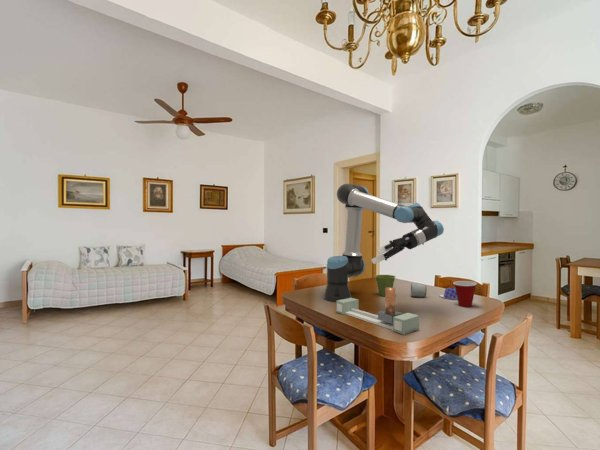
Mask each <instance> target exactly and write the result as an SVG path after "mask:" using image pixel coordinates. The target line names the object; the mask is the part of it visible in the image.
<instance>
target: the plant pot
mask: <svg viewBox="0 0 600 450" xmlns="http://www.w3.org/2000/svg"><path fill="white" fill-rule="evenodd" d="M374 277H375V280H376V284H377V290H378V295H379V296H381V297H385V288H387V287H391V288H394V282H395V279H396V276H395V275H392V274H376V275H374Z"/></svg>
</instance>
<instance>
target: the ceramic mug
mask: <svg viewBox="0 0 600 450" xmlns="http://www.w3.org/2000/svg"><path fill="white" fill-rule="evenodd" d="M427 291H428V290H427V285H425V284H423V283H414V282H411V285H410V297H414V298H426V296H427V294H428V293H427Z"/></svg>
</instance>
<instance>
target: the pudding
mask: <svg viewBox="0 0 600 450" xmlns="http://www.w3.org/2000/svg"><path fill="white" fill-rule="evenodd" d="M439 296H440V298H444V299H446V300H447V299H448V300H458V298H457V293H456V289H455V287H447V288H445V290H444V293H443V294H440V295H439Z"/></svg>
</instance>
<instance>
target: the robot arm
mask: <svg viewBox="0 0 600 450" xmlns="http://www.w3.org/2000/svg"><path fill="white" fill-rule="evenodd" d="M336 197H337V200H338V202H339V203H341V204H343V205H345V210H346V211H347V216H346V218H347V219H346V234H345V248H344V249H345V250H344V251H343V252H342V255H334V256H330V257H329V258H327V263H326V288H325V291H324V294H323V299H324V300H326V301H330V302H336V301H337V300H342V299H347V298H352V293H351V291H350V287H349V278H356V277H358V276H360V275H362V274H363V273H364V271H365V270H366V262H365V260H364V258H363V253H361V239H362V225H363V223H362V222H363V212H364V210H369V211H371V212H375V213H376V214H380V215H383V216H386V217H388V218H391V219H394V220H396V221H397V222H399V223H402V224H407V223H409V224H412V223H413V224H414V225H415V227H416V229H414V230H411V231H409V232H408V233H405V234H403V235H402V237H398V238H395V239H393V240H389V243H387V244H385V245H383V246H380V247H378V248H376V250H377V252H378V255H377V256H375V257H372V259H370V260H371V262H372V264H373V265H376V264H377V263H380V262H383V261H384V260H385V261H388V260H389V259H390V258H392V257H393V256H395V255H396V254H398V253H401V252H403V250H405V248H407V249H408V250H413V249H415V248H416V247H419V246H420V245H423V246H424V245H425V243H427V242H429V241H431V240H433V239H436V238H437V237H439V236H441V235H443V234H444V230H445V228H444V225H443V224H442V223H441V222H440V221H439V220H432V219H431V217H430V216H429V215H428V213H427V212H426V211H425V209H424V208H423V206H422V205H421V204H420V203H418V202H415V203H412V204H410V205H409V206H407V205H404V204H400V203H397V202H395V201H391V200H388V199H384V198H380V197H378V196H374V195H371V194H370V192H369V190H368V189H367V188H366V187H365V186H363V185H360V184H359V185H358V184H354V183H344V184H342V185H340V186H339V187H338V189H337V191H336Z"/></svg>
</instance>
